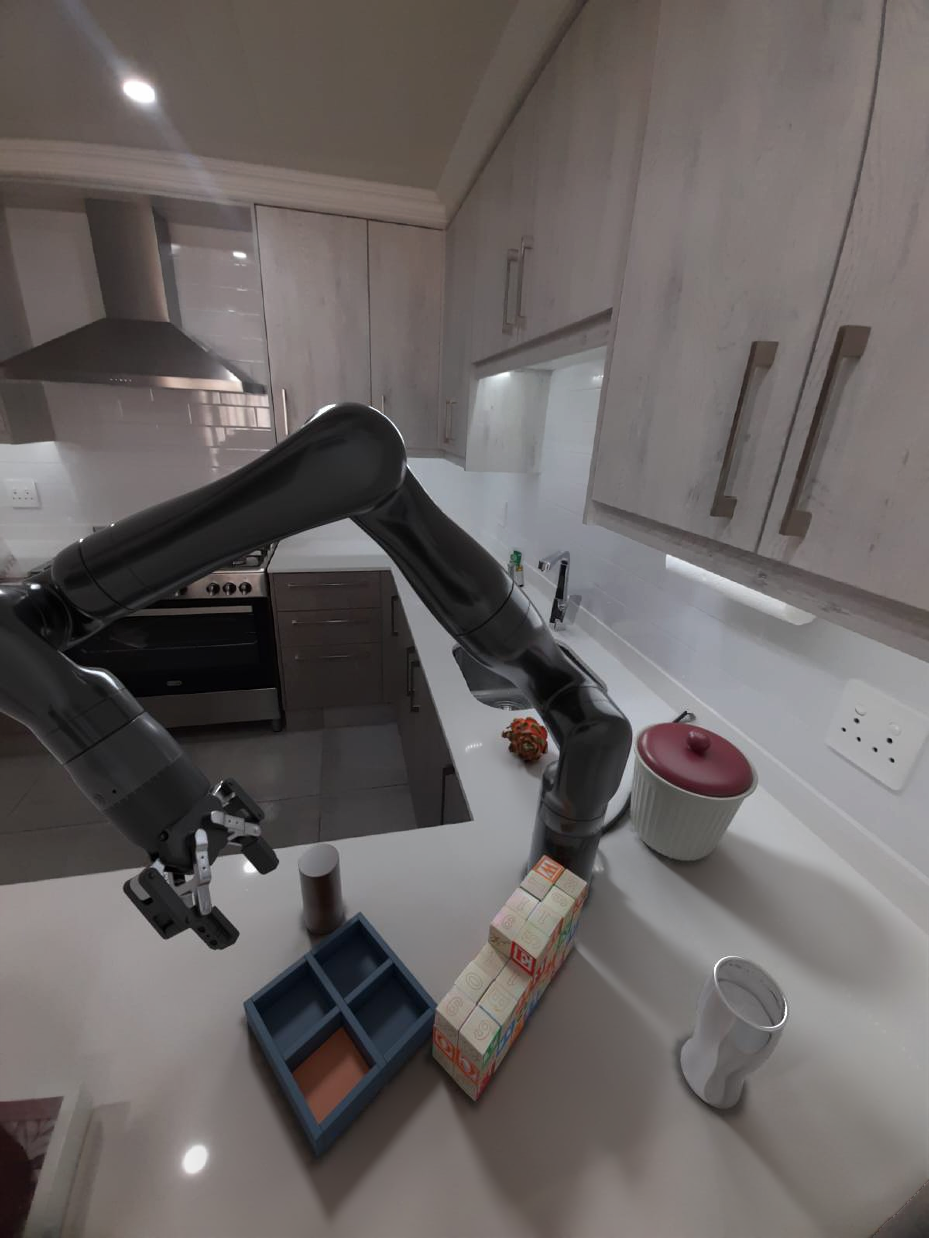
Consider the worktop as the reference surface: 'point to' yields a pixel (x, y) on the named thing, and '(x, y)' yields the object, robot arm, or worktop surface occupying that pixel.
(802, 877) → the worktop surface
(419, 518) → the robot arm
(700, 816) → the canister
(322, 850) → the brown cylinder
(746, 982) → the beer glass
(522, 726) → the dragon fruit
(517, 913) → the stack of blocks
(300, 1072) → the grid
